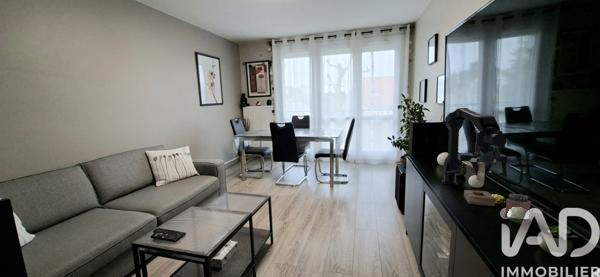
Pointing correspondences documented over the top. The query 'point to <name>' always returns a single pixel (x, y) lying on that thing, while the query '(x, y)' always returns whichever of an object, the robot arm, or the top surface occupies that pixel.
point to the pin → (481, 171)
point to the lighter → (517, 202)
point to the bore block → (479, 197)
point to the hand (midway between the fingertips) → (480, 175)
